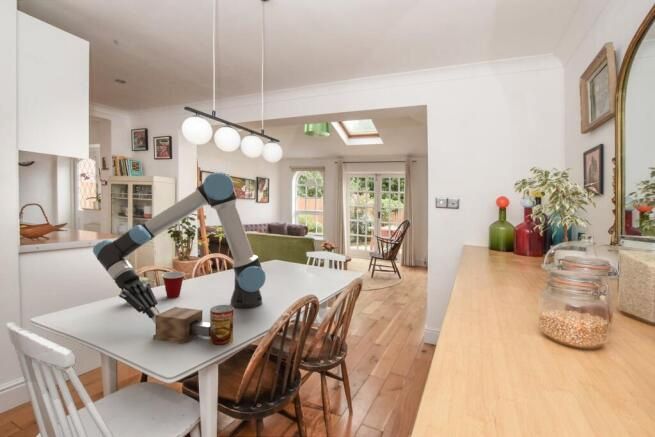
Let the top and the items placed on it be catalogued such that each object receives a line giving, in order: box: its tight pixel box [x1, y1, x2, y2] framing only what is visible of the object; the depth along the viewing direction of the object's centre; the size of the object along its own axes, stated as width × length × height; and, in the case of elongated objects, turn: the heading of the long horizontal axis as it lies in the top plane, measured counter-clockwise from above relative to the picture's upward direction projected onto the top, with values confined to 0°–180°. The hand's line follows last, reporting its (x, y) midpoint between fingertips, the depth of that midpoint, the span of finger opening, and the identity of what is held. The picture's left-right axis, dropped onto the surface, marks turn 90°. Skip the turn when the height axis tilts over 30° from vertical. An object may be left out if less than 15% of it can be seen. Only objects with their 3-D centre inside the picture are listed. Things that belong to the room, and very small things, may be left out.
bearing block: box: [152, 306, 203, 345], centre depth 117 cm, size 13×11×8 cm
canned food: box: [209, 304, 235, 347], centre depth 112 cm, size 8×8×12 cm
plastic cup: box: [161, 271, 186, 299], centre depth 164 cm, size 11×11×12 cm
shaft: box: [189, 321, 210, 338], centre depth 116 cm, size 21×5×5 cm, turn 76°
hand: (160, 322), depth 118 cm, fingers closed
